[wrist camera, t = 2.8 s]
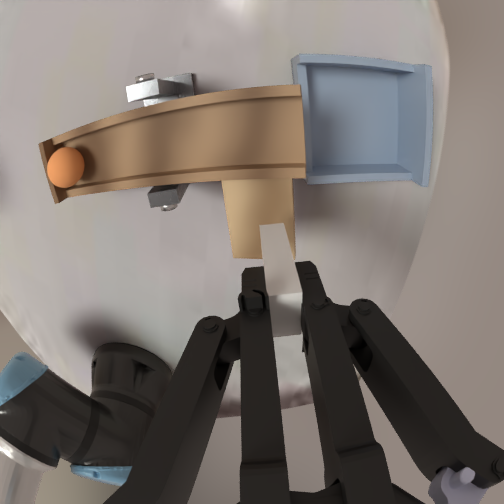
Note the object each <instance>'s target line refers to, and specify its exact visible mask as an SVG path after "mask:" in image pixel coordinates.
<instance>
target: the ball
mask: <svg viewBox="0 0 504 504" xmlns="http://www.w3.org/2000/svg"><path fill="white" fill-rule="evenodd" d="M84 166H85V164H84V159H83V156H82V154H81V153H80V152H79V151H78V150H77V149H75V148H72V147H63V148H60V149H58V150H57V151H56V152H54V153H53V155H52V156H51V157H50V159H49V162H48V165H47V173H48V177H49V179H50V181H51V182H52V183H53V184H54V185H56V186H58V187H61V188H67V187H71V186H73V185H74V184H76V183H77V182H78V181H79V180H80V178H81V177H82V175H83V172H84Z"/></svg>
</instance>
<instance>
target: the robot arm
mask: <svg viewBox="0 0 504 504" xmlns="http://www.w3.org/2000/svg"><path fill="white" fill-rule="evenodd" d="M259 226H260V237H261V247H262V258H263V266H261V267H251V268H245V270H244V271H243V273H242V292H241V293H240V294H239V296H238V303H239V308H240V311H239V312H238V314H236V315H235V316H233V317H231V318H229V319H226V320H223V319H222V318H220V317H217V316H208V317H204V318H203V319H201V320H200V321H199V322H198V323H197V324H196V326H195V328H194V331H193V333H192V335H191V337H190V339H189V341H188V343H187V346H186V348H185V350H184V352H183V354H182V356H181V359H180V361H179V363H178V365H177V367H176V369H175V372H174V374H173V376H172V373H171V371H170V369H169V368H168V366H167V365H166V364H165V363H164V362H163V361H162V360H161V359H159V358H158V357H156V356H155V355H153V354H151V353H150V352H148V351H146V350H143V349H141V348H138V347H135V346H132V345H128V344H122V343H109V344H104V345H102V346H100V347H99V348H98V349H97V350H96V352H95V354H94V357H93V360H92V392H91V395H90V397H89V396H88V395H86V394H84V393H83V392H81V391H80V390H78V389H77V388H75V387H74V386H72V385H71V384H69V383H68V382H66V381H65V380H63V379H62V378H61V377H59V376H58V375H56V374H55V373H54V372H52V371H51V370H50V369H48V366H47V365H44V364H42V363H41V362H39V361H38V360H37V359H35V358H34V357H32V356H31V355H30V354H28V353H26V352H18V353H17V354H15V355H14V357H12V359H11V360H10V361H9V362H8V364H7V365H6V367H5V368H4V369H3V370H2V372H1V373H0V504H34V503H35V499H36V496H37V492H38V488H39V485H40V482H41V478H42V475H43V473H44V472H46V471H50V470H54V469H56V468H57V465H58V462H59V459H60V458H62V459H64V460H66V461H69V462H70V463H71V465H70V467H71V472H72V473H73V474H76V475H78V476H81V477H84V478H87V479H90V480H94V481H98V482H102V483H107V484H111V485H117V486H121V487H120V488H119V489H118V490H117V491H116V492H115V493H114V494H113V495H112V496H110V497H109V498H108V499H107V500H106V501H105V502H104V503H103V504H187V502H188V500H189V497H190V495H191V492H192V488H193V486H194V483H195V480H196V477H197V474H198V471H199V468H200V465H201V462H202V459H203V456H204V453H205V450H206V447H207V444H208V441H209V438H210V435H211V432H212V429H213V426H214V423H215V420H216V417H217V414H218V411H219V408H220V405H221V401H222V398H223V395H224V392H225V389H226V386H227V383H228V380H229V376H230V373H231V370H232V367H233V364H234V361H236V360H239V359H240V363H241V437H242V438H241V439H242V440H241V441H242V462H241V465H240V502H238V503H237V504H425V503H423V502H421V501H420V500H418V499H417V498H415V497H414V496H412V495H411V494H409V493H407V492H406V491H404V490H403V489H401V488H400V487H398V486H397V485H395V484H393V483H391V479H390V474H389V470H388V466H387V462H386V458H385V454H384V451H383V448H382V446H381V445H380V444H379V443H378V442H376V440H375V438H374V435H373V431H372V427H371V424H370V420H369V416H368V413H367V409H366V405H365V402H364V398H363V395H362V392H361V388H360V385H359V381H358V378H357V375H356V372H355V368H354V366H355V367H356V369H357V371H358V372H359V374H360V375H361V377H362V378H363V380H364V381H365V383H366V385H367V386H368V388H369V389H370V391H371V392H372V394H373V396H374V397H375V399H376V400H377V402H378V404H379V405H380V407H381V408H382V410H383V412H384V413H385V415H386V416H387V418H388V420H389V421H390V422H391V425H392V426H393V428H394V429H395V431H396V433H397V434H398V436H399V437H400V439H401V441H402V443H403V444H404V446H405V447H406V449H407V451H408V452H409V454H410V456H411V457H412V459H413V461H414V462H415V464H416V465H417V467H418V468H419V470H420V471H421V472H422V473H423V475H424V476H425V477H426V478H427V479H428V480H429V481H431V484H430V487H429V491H428V494H429V496H430V497H431V498H432V499H433V501H434V502H435V504H479V502H480V501H481V499H482V498H483V496H484V494H485V493H486V491H487V489H488V488H489V487H491V486H494V485H496V484H498V483H499V482H501V481H503V480H504V450H503V449H501V448H499V447H498V446H497V445H495V444H494V443H492V442H491V441H489V440H487V439H486V438H485V437H483V436H481V435H480V434H479V433H477V432H476V431H475V430H474V428H473V427H472V426H471V424H470V423H469V421H468V420H467V418H466V417H465V416H464V415H463V413H462V411H461V410H460V409H459V407H458V406H457V405H456V403H455V402H454V400H453V399H452V398H451V396H450V395H449V394H448V392H447V391H446V390H445V388H444V387H443V386H442V384H441V383H440V382H439V381H438V379H437V378H436V377H435V375H434V374H433V373H432V371H431V370H430V369H429V368H428V366H427V365H426V364H425V363H424V361H423V360H422V359H421V358H420V356H419V355H418V354H417V353H416V351H415V350H414V349H413V348H412V347H411V345H410V344H409V343H408V342H407V340H406V339H405V338H404V337H403V335H402V334H401V333H400V332H399V331H398V330H397V328H396V327H395V326H394V325H393V324H392V322H391V321H390V320H389V319H388V318H387V317H386V315H385V314H384V313H383V312H382V311H381V310H380V308H379V307H378V306H377V305H376V304H375V303H374V302H373V301H371V300H368V299H357V300H355V301H353V302H352V303H351V305H350V306H345V305H338V304H335V303H333V302H332V301H331V299H330V298H329V297H327V296H326V293H325V290H324V287H323V284H322V282H321V279H320V276H319V273H318V271H317V268H316V266H315V265H314V264H313V263H312V262H311V261H304V262H294V259H293V255H292V251H291V248H290V244H289V240H288V237H287V233H286V230H285V226H284V223H278V224H268V225H259ZM301 332H302V333H303V348H302V352H305V357H306V362H307V367H308V373H309V378H310V384H311V389H312V395H313V400H314V406H315V412H316V417H317V423H318V429H319V435H320V442H321V447H322V454H323V461H324V468H325V471H324V480H325V488H326V489H323V490H321V491H318V492H315V493H308V492H296V491H289V480H288V470H287V462H286V455H285V445H284V435H283V425H282V416H281V406H280V396H279V387H278V378H277V368H276V359H275V350H274V341H273V337H281V336H290V335H298V334H301ZM353 364H354V365H353Z"/></svg>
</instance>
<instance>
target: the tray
mask: <svg viewBox="0 0 504 504" xmlns="http://www.w3.org/2000/svg"><path fill="white" fill-rule="evenodd" d="M291 64H292V74H293V84H294V85H298V84H300V85H301V90H302V102H303V116H304V131H305V149H306V178H304V180H305V181H306V183H307V184H308V185H314V184H328V183H345V182H366V181H396V180H412V181H414V182H415V183H417V184H418V185H420V186H421V187H428V183H429V174H430V163H431V151H432V132H433V84H432V66H430V65H426V64H418V65H412V64H407V63H402V62H396V61H389V60H383V59H375V58H367V57H357V56H345V55H328V54H298V55H297V56H295V57H294V58H292V59H291Z"/></svg>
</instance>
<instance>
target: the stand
mask: <svg viewBox="0 0 504 504" xmlns="http://www.w3.org/2000/svg"><path fill="white" fill-rule="evenodd" d="M126 89H127V95H128V102H132V101H140V100H144V106H149V105H153V104H157V103H161V102H166V101H170V100H175V99H180V98H185V97H190V96H195V92H194V85H193V77H192V73H188V74H183V75H178V76H173V77H168V78H164V79H154V74H153V73H151V74H145V75H141V76H138V77H136V84H135V85H131V86H128V87H126ZM193 183H195V182H193ZM189 184H190V183H180V184H169V185H158V186H153V188H152V189H151V190H150V191H149V192H148V198H149V202H150V206H151V208H153V207H159V206H160V207H161V210H162V211H170V210H173V209H175V208H176V207H177V204H178V203H180V201H181V199H182V197H183V195H184V193H185V191H186V189H187V187H188V185H189Z"/></svg>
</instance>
